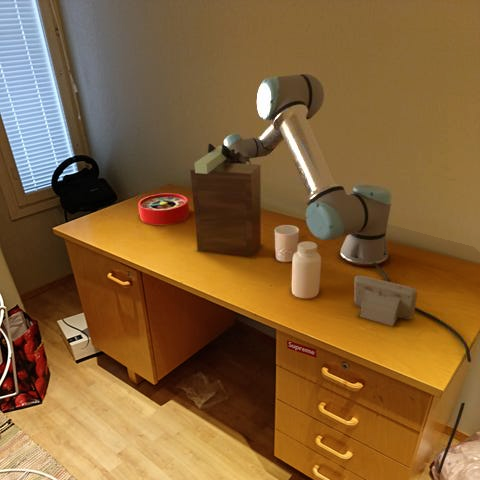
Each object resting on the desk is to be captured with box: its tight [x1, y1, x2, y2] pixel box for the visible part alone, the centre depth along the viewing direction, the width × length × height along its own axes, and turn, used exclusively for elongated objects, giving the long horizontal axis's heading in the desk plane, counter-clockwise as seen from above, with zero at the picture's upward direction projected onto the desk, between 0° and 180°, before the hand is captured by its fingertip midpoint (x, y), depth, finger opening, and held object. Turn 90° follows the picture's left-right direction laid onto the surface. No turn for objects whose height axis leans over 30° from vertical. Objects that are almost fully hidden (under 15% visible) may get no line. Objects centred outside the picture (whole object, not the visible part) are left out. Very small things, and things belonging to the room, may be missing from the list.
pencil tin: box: [194, 145, 231, 174], centre depth 144 cm, size 22×4×3 cm, turn 162°
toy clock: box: [137, 192, 190, 226], centre depth 183 cm, size 20×6×20 cm
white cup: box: [274, 224, 300, 263], centre depth 147 cm, size 8×8×10 cm
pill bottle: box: [291, 240, 322, 299], centre depth 127 cm, size 8×8×15 cm
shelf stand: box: [189, 162, 262, 259], centre depth 149 cm, size 10×20×28 cm, turn 72°
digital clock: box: [353, 274, 418, 327], centre depth 117 cm, size 16×9×11 cm, turn 47°
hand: (216, 148), depth 144 cm, fingers closed on pencil tin, 4 cm apart
